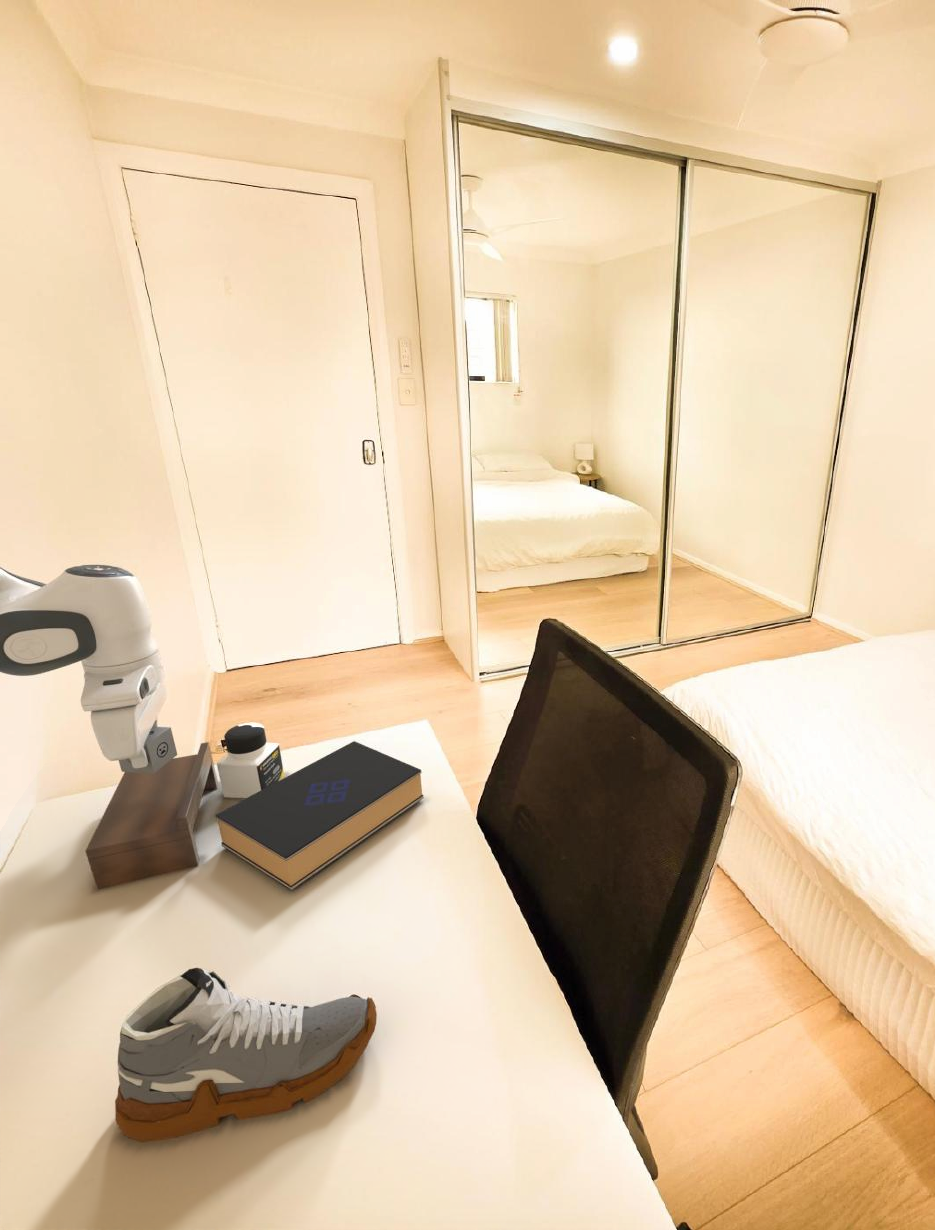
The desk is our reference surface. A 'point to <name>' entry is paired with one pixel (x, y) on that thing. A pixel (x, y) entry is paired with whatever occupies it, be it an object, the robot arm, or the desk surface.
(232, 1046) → the sneaker
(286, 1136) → the desk surface
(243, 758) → the medicine bottle
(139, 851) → the wooden cradle stand
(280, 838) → the book
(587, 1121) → the desk surface
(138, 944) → the desk surface
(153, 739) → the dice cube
